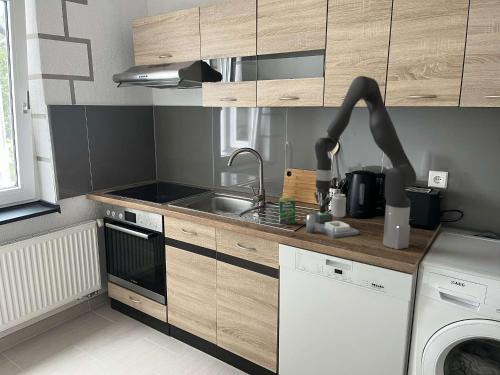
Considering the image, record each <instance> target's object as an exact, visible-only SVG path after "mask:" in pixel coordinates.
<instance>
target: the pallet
mask: <svg viewBox="0 0 500 375" xmlns="http://www.w3.org/2000/svg"><path fill="white" fill-rule="evenodd" d="M318 212H320V210H319V211H318V210H317V211H312V212H311V214H313V215H315V230H318V231H320V232H322V233H323V234H325V235H327V236H328V237H331V238H333V239H335V238H342V237H350V236H354V235H355V236H357V235H359V234H360V231H359V230H358V229H356V228H353V227H351V226H350V224H349V223H346V222H343V221H339V220H335V219H333V218H334V217H333V214H331V212H328V211H326V210H325V212H326V213H327V214H325V215H320V214H318ZM304 222H305V223H304ZM303 223H304V224H306V218H304V219H303Z"/></svg>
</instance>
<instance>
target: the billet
mask: <svg viewBox="0 0 500 375" xmlns="http://www.w3.org/2000/svg"><path fill="white" fill-rule="evenodd" d="M305 219H306V223H305V232H306V233H307V234H315V231H316V229H315V215H313V214H312V213H310V214H309V213H308V214H306V218H305Z"/></svg>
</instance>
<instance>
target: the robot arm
mask: <svg viewBox="0 0 500 375" xmlns="http://www.w3.org/2000/svg"><path fill="white" fill-rule="evenodd" d="M361 99H362V100H363V101H364V102H365V104H366V105H365V106H366V107H367V110H368V113H369V118H368V119H369V120H368V122H369V131H370V134H371V135H372V136H371V137H372V138H373V141H374V143H375V144H376V145H377V147H378V148H379V149H380V150H381V151H382V153H383V154H384V155H386V157H387V158H388V159H389V161H390V164H391V165H392V167H391V168H389V169H388V170H387V172H386V174H385V179H384V198H385V202H386V203H385V213H384V226H383V237H382V238H383V239H382V244H383V246H385V247H387V248H391V249H395V250H402V249H408V248H409V244H410V233H411V225H410V223H409V222H410V212H411V199H410V198H408V197H407V195H406V193H407V190H406V189H409V188H412V187H414V186H415V184H416V183H417V173H416V171H415V168H414V167H413V165H412V163H411V160H410V159H409V158H408V156H407V154H406V152H405V150H404V148H403V145H402V142H401V140H400V139H399V136H398V133H397V130H396V129H395V126H394V123H393V121H392V119H391V116H390V115H389V112H388V110H387V107H386V106H385V103H384V102H385V101H384V99H383V96H382V93H381V89H380V86H379V83H378V82H377V80H376V79H374V78H372V77H369V76H365V75H358V76H357V77H355V78H354V79H353V81H352V82H351V84H350V86H349V87H348V89H347V92H346V95H345V97H344V99H343V101H342V103H341V106H340V107H339V109H338V111H337V113H336V114H335V116H334V117H333V119H332V121H331V122H330V124H329V125H328V127H327V128H326V129H327V130H326V132H327V135H326V136H325V137H319V138H318V139H317V140H316V141H315V145H314V151H315V157H316V173H315V188H316V191H315V192H313V194H314V197H315V201H316V203H317V204H318V206H319V211H320V213H325V211H326V207H327V206H329V205H330V203H331V202H332V196H330V189H332V179H333V178H332V177H333V174H332V173H333V172H332V168H333V166H332V165H333V160H332V158H330V157H329V154H328V153H330V152H332V151H333V150H334V149H336V148H337V145H338V143H339V141H340V138H341V136H342V134H343V133H344V132H345V130H346V129H347V127H348V125H349V123H350V121H351V117H352V113H353V110H354V108H355V107H356V105H357V104H358V102H360V100H361Z"/></svg>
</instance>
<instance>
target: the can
mask: <svg viewBox="0 0 500 375" xmlns="http://www.w3.org/2000/svg"><path fill="white" fill-rule="evenodd" d="M331 197H332V200H331V204H330V205H331V208H330V213H331V214H333V218H338V219H339V218H344V217H345V216H346V207H347V205H346V204H347V197H346V194H343V193H334V194H332V196H331Z"/></svg>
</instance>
